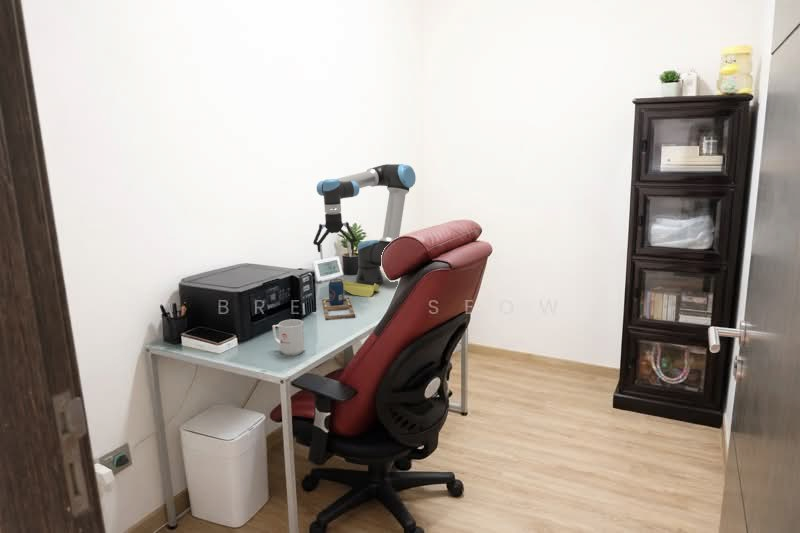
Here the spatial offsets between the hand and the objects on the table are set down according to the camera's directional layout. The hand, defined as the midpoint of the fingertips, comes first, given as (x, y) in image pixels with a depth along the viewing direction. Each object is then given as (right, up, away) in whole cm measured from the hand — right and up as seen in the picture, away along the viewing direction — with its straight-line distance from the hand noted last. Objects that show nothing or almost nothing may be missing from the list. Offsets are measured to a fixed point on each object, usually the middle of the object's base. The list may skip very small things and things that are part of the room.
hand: (336, 257), depth 260 cm
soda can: (0, -23, +1) cm, 23 cm away
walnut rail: (+2, -24, -6) cm, 25 cm away
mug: (-11, -36, -56) cm, 67 cm away
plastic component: (+9, -18, +21) cm, 30 cm away
